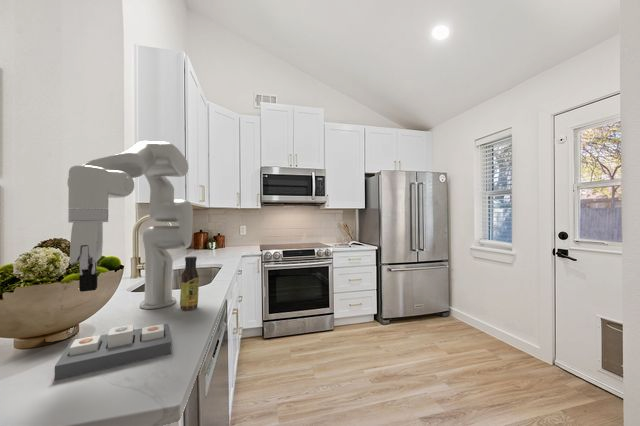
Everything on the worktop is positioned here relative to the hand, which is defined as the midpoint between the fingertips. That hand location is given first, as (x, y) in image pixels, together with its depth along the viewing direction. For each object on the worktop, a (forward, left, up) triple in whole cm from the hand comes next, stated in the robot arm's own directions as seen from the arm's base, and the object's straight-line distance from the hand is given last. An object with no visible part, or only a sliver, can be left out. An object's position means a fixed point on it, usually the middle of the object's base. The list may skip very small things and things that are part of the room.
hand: (88, 290), depth 67 cm
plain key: (0, +7, -15) cm, 17 cm away
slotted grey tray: (0, +7, -17) cm, 18 cm away
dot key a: (0, +14, -16) cm, 21 cm away
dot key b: (0, 0, -16) cm, 16 cm away
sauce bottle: (-28, +26, -17) cm, 42 cm away
